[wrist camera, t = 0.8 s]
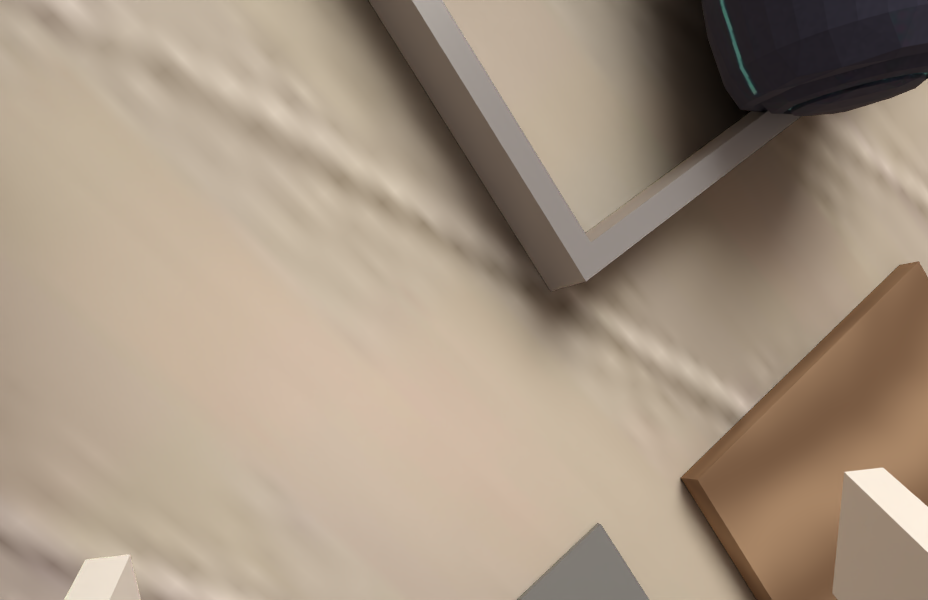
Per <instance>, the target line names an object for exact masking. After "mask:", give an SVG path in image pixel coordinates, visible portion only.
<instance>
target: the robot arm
mask: <svg viewBox="0 0 928 600" xmlns="http://www.w3.org/2000/svg"><path fill="white" fill-rule="evenodd" d="M832 593H833V595H834V596H835V597H836V598H837V600H928V507H927V506H926V505H925V504H924V503H923V502H922V501H921V500H919V499H918V498H917V497H916V496H915V495H914V494H913V493H912V492H910V491H909V490H908V489H907V488H906V487H905V486H904V485H902V484H901V483H900V482H899V481H898V480H897V479H896V478H894V477H893V476H892V475H891V474H890V473H889V472H888V471H887V470H885V469H884V468H874V469H865V470H857V471H848V472H844V479H843V489H842V500H841V510H840V520H839V530H838V540H837V550H836V560H835V570H834V580H833V590H832ZM64 600H141V597H140V593H139V589H138V585H137V580H136V576H135V572H134V568H133V563H132V559H131V555H130V554H128V555H119V556H111V557H102V558H93V559H86V560H85V562H84V563H83V565H82V567H81V569H80V571H79V573H78V575H77V577H76V578H75V580H74V582H73V584H72V586H71V588H70V590H69V592H68V593H67V595H66V597H65V599H64Z"/></svg>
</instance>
